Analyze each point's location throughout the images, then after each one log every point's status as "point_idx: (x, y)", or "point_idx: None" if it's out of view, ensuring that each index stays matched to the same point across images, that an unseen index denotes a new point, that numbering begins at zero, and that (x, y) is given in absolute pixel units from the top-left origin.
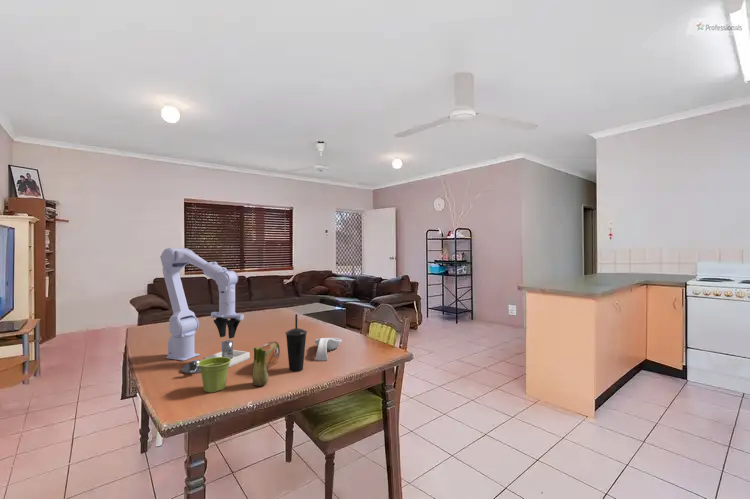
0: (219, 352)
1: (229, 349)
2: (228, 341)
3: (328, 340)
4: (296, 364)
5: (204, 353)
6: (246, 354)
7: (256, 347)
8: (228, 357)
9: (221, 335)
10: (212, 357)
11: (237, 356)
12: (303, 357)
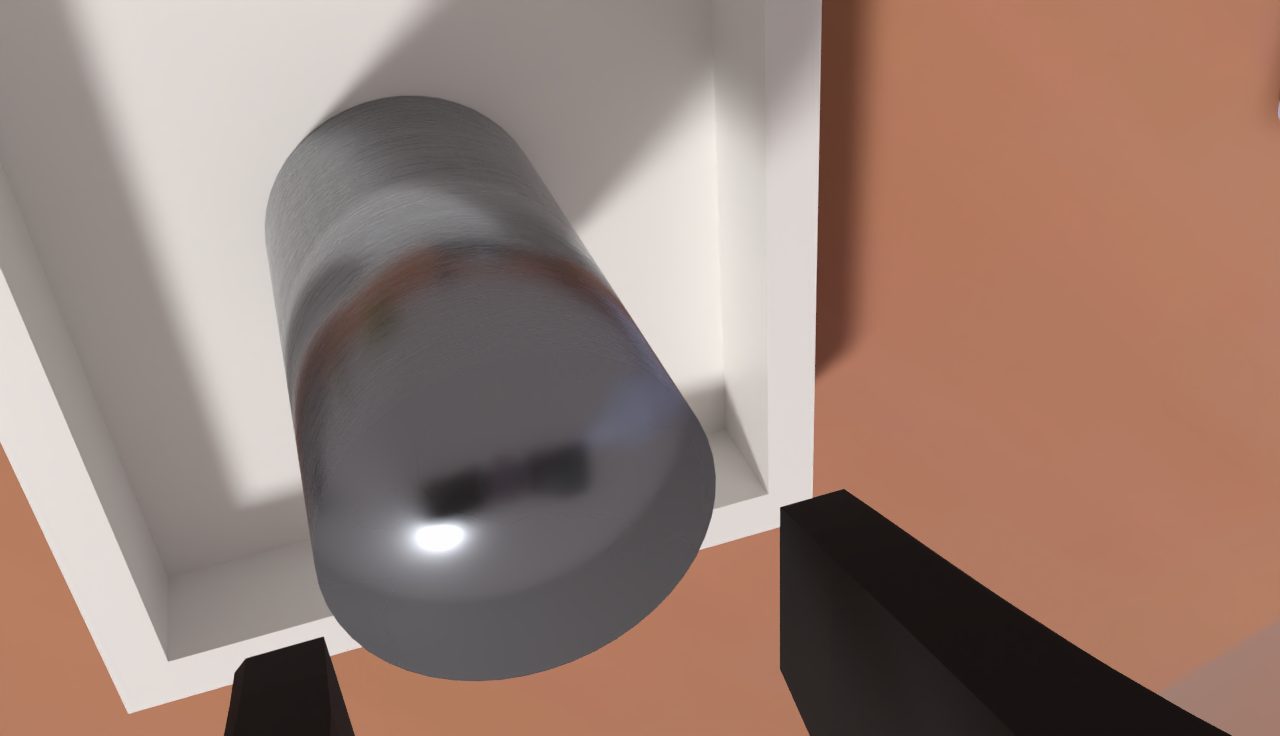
0: (797, 288)
1: (291, 366)
2: (526, 570)
3: None
4: None
5: (1253, 246)
6: (91, 609)
7: None
8: (281, 219)
9: (817, 567)
10: (743, 11)
11: (24, 369)
12: None
